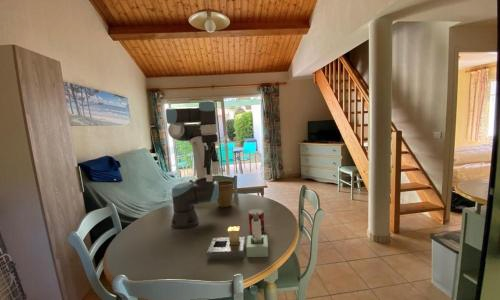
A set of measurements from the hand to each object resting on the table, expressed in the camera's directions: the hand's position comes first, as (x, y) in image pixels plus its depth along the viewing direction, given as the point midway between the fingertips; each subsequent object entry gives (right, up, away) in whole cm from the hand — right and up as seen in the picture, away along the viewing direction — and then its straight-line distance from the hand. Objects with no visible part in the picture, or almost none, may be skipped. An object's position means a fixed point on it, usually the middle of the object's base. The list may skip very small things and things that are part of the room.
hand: (212, 177), depth 115 cm
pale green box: (+22, -31, -10) cm, 39 cm away
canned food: (+22, -29, +8) cm, 37 cm away
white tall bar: (+22, -31, -10) cm, 39 cm away
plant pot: (+1, -25, +49) cm, 55 cm away
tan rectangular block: (+12, -31, -10) cm, 35 cm away
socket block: (+8, -32, -10) cm, 34 cm away
